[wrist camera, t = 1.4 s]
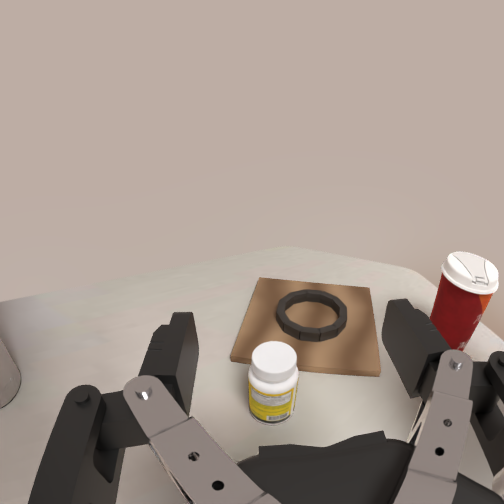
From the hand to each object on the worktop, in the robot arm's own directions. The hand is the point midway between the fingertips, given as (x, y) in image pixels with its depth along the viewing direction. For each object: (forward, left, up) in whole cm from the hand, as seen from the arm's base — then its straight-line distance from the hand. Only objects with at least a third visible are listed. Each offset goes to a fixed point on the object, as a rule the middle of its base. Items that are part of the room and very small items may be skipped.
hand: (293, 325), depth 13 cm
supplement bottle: (-2, +10, -21) cm, 23 cm away
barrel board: (+1, +25, -20) cm, 32 cm away
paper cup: (+19, +20, -21) cm, 35 cm away
